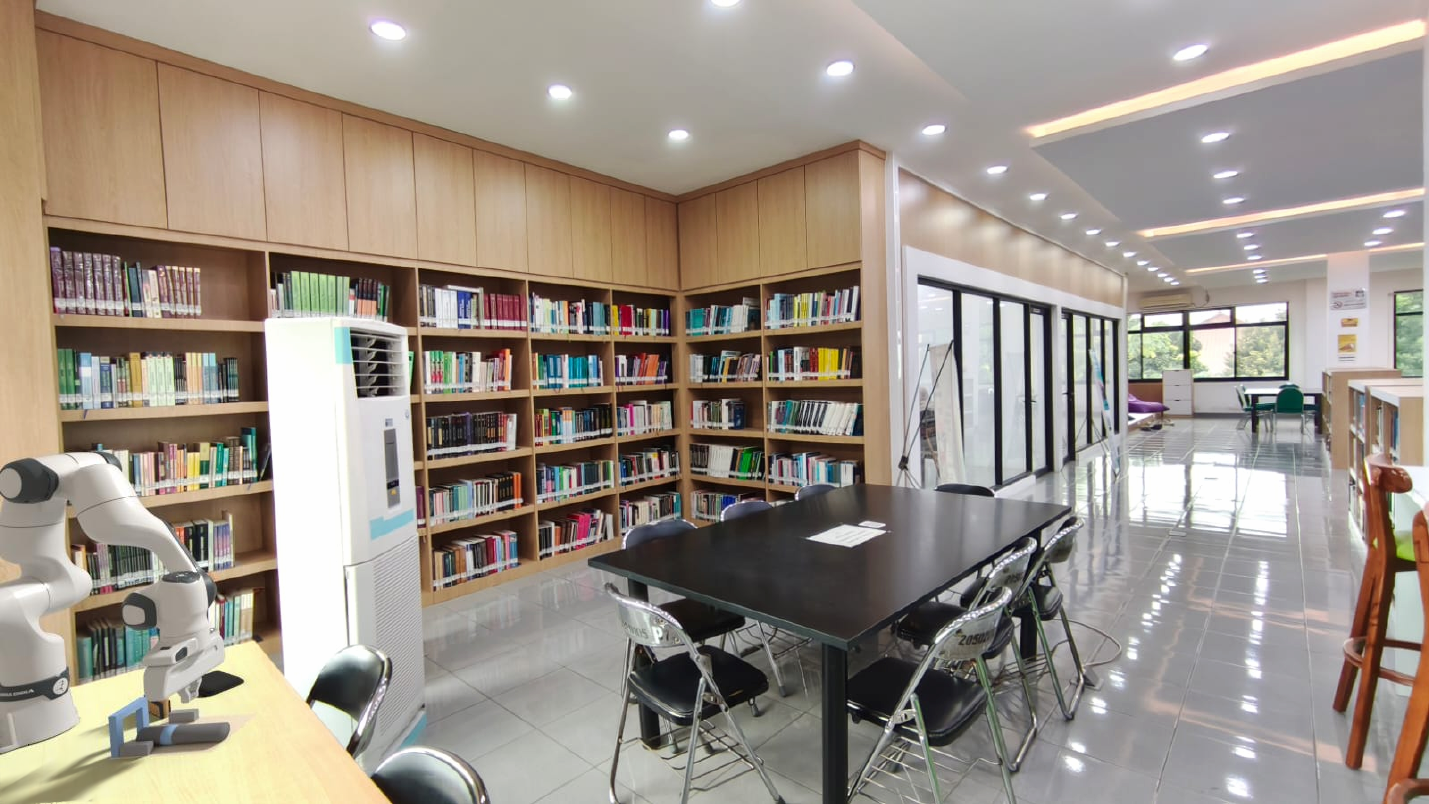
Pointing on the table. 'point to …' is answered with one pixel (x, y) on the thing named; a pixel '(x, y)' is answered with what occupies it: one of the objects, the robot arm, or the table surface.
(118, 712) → the blue arch frame
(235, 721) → the beige base board
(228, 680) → the carrying case or bag
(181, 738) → the gray banded cylinder
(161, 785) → the table surface
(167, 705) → the ammunition clip
